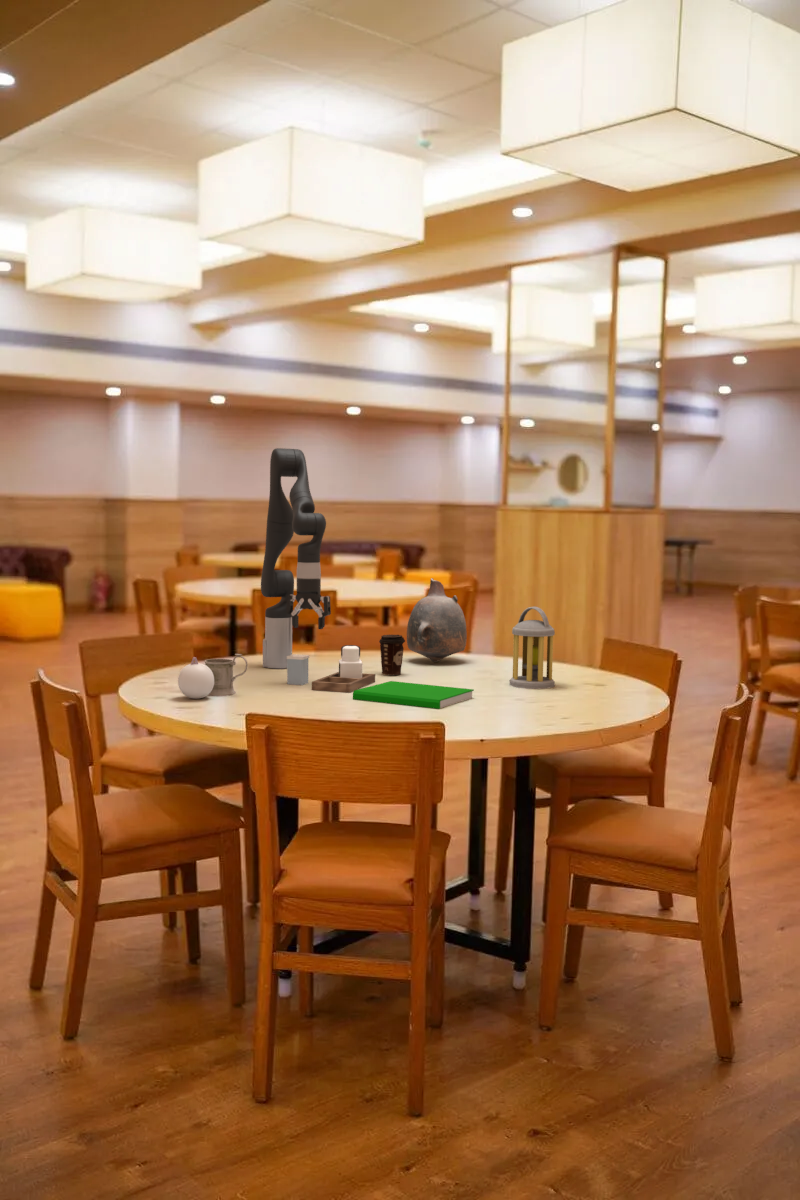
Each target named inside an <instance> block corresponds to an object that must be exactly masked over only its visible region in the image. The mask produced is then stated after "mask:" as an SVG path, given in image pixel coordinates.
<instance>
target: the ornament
mask: <svg viewBox="0 0 800 1200" xmlns="http://www.w3.org/2000/svg"><path fill="white" fill-rule="evenodd" d="M177 685H178V690H179V691H180V692H181V694H182V695H184V696H185V697H186V698H189V699H194V700H196V699H197V700H198V699H202V698H205V697H207V696H209V695H208V694H209V693H210V692H211V691H212V689H213V686H214V675H213V673H212V671H211V669H210V668H209V667H208V666H206V665H205V664H204V663H200V662H199V661H198V659H197V656H196V657H195V656H193V657H192V660H191V663H189V664H187V665H185V666H184V667H182V668H181V669H180V671H179V674H178V676H177Z"/></svg>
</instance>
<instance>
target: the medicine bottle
mask: <svg viewBox="0 0 800 1200" xmlns="http://www.w3.org/2000/svg"><path fill="white" fill-rule="evenodd" d="M340 658H341V659H338V672H339V677H344V678H359V679H360V678H362V673H363V661H362V659H361V647H360V645H359V646H358V645H353V644H346V645H342V646H341V648H340Z"/></svg>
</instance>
